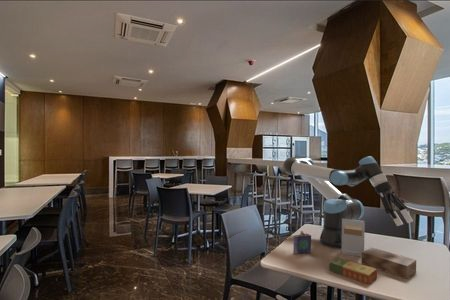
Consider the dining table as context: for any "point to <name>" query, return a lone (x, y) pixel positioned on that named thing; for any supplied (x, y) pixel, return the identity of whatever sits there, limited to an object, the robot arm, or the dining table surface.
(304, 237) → the flask
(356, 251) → the board
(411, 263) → the walnut block
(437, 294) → the dining table surface
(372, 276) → the carton
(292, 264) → the dining table surface
